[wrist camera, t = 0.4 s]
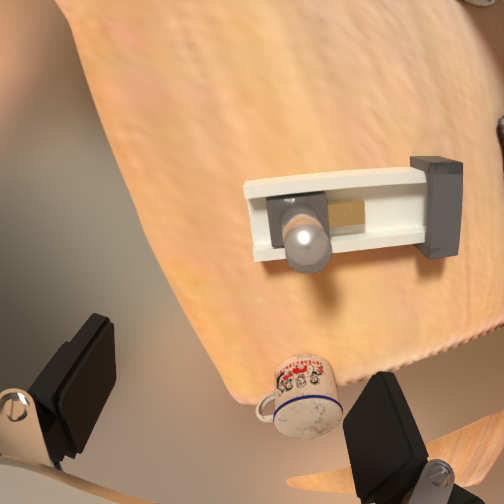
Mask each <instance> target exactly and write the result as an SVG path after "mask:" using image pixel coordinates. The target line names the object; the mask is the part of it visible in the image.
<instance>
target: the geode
mask: <svg viewBox="0 0 504 504" xmlns="http://www.w3.org/2000/svg"><path fill="white" fill-rule="evenodd" d="M498 124H499V132H500V135H501V138H502V140H503V144H504V116H503V117H502V118H501V119H499V121H498Z"/></svg>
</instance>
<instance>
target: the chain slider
mask: <svg viewBox="0 0 504 504" xmlns="http://www.w3.org/2000/svg"><path fill="white" fill-rule="evenodd" d="M266 206H267V214H268V222H269V229H270V237H271V245H272V247H276V246H284V249H285V256H286V260H287V262H288V264H289V265H290V267H291V268H293V269H294V270H295V271H297V272H300V273H303V274H312V273H316V272H318V271H320V270H322V269H323V268H324V267H325V266H326V265H327V264H328V263H329V261H330V259H331V256H332V245H331V242H330V233H329V228H331V227H341V226H350V225H360V224H365V202H364V201H363V200H362V199H360V200H349V201H338V202H328V203H327V194H326V193H325V192H324V191H313V192H304V193H294V194H285V195H277V196H268V197H266Z"/></svg>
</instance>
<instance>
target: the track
mask: <svg viewBox="0 0 504 504" xmlns="http://www.w3.org/2000/svg"><path fill="white" fill-rule="evenodd" d="M243 189H244V196H245V199H247V203H248V210H249V216H250V223H251V230H252V237H253V243H254V246H253V256H254V262H261V261H270V260H279V259H286V256H285V249H284V246H276V247H272V245H271V237H270V229H269V222H268V214H267V206H266V197H268V196H277V195H285V194H294V193H304V192H313V191H324V192H325V193H326V194H327V203H328V202H338V201H349V200H360V199H362V200H363V201H364V202H365V224H360V225H350V226H341V227H331V228H329V233H330V242H331V245H332V253H340V252H349V251H357V250H365V249H374V248H382V247H390V246H399V245H407V244H413V245H414V246H415V247H417V248H418V249H419V250H420V251H421V252H422V253H423V254H424V255H425V256H426V257H427V258H428V259H429V260H430V259H436V258H443V257H450V256H456V255H458V249H459V239H460V228H461V215H462V196H463V163H462V162H458V161H455V160H451V159H447V158H443V157H440V156H414V157H410V167H395V168H377V169H361V170H347V171H335V172H323V173H313V174H303V175H293V176H284V177H275V178H267V179H259V180H251V181H245V184H244V186H243Z"/></svg>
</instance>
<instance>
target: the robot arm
mask: <svg viewBox="0 0 504 504" xmlns="http://www.w3.org/2000/svg"><path fill="white" fill-rule="evenodd" d="M464 1H466V2H467V3H470V4H472V5H475V6H480V7H485V6H488V5H491V4H493V3H494V2H495V1H496V0H464ZM115 382H116V363H115V343H114V324H113V323H111V322H110V319H109V318H108V317H105V316H102V315H99V314H96V313H93V314H92V315H91V316H90V318H89V319H88V320H87V321H86V322H85V324H84V325H83V326H82V327H81V329H80V330H79V331H78V332H77V334H76V335H75V336H74V338H73V339H72V340H71V342H65V343H64V344H63V345H62V346H61V347H60V348H59V349H58V351H57V352H56V353H55V355H54V356H53V357H52V359H51V360H50V361H49V362H48V364H47V365H46V367H45V368H44V370H43V371H42V372H41V373H40V375H39V376H38V377H37V379H36V380H35V381H34V383H33V384H32V386H31V387H30V388H29V390H28V391H27V393H26V392H25V391H23V390H19V389H8V390H5V391H3V392H2V393H0V504H158V503H154V502H150V501H147V500H143V499H139V498H136V497H132V496H130V495H126V494H123V493H120V492H117V491H114V490H111V489H108V488H105V487H102V486H99V485H97V484H94V483H91V482H89V481H86V480H84V479H81V478H79V477H76V476H73V475H71V474H68V473H65V472H64V471H63V468H62V465H61V463H60V461H63V458H64V456H65V455H66V456H68V457H71V458H73V459H74V458H75V456H76V454H77V453H79V454H81V453H82V452H83V450H84V447H85V445H86V443H87V440H88V439H89V436H90V434H91V432H92V430H93V428H94V426H95V424H96V422H97V419H98V417H99V415H100V413H101V411H102V409H103V407H104V405H105V403H106V401H107V399H108V397H109V395H110V393H111V391H112V389H113V387H114V385H115ZM343 430H344V435H345V439H346V444H347V449H348V454H349V459H350V464H351V469H352V474H353V479H354V484H355V489H356V494H357V497H358V498H360V499H361V504H371V503H375V504H485V503H484V502H483V500H481V499H480V498H479V497H477V496H475V495H474V494H472V493H470V492H468V491H466V490H465V489H463V488H461V487H460V486H458V485H456V484H455V483H454V480H455V475H454V472H453V469H452V468H451V467H450V465H449V464H448V463H446V462H445V461H442V460H440V459H434V460H430V461H429V462H428V460H427V457H428V456H429V455H428V452H427V450H426V447H425V445H424V442H423V440H422V437H421V435H420V432H419V430H418V428H417V425H416V422H415V420H414V418H413V415H412V413H411V411H410V408H409V406H408V404H407V401H406V399H405V397H404V395H403V392H402V390H401V388H400V386H399V383H398V382H397V379H396V377H395V375H394V373H392V372H381V371H380V372H377V373H376V375H373V376H372V377H371V378H370V380H369V382H368V383H367V385H366V387H365V388H364V390H363V391H362V393H361V395H360V396H359V398H358V399H357V401H356V402H355V404H354V405H353V407H352V408H351V410H350V411H349V413H348V414H347V416H346V417H345V419H344V421H343Z"/></svg>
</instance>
